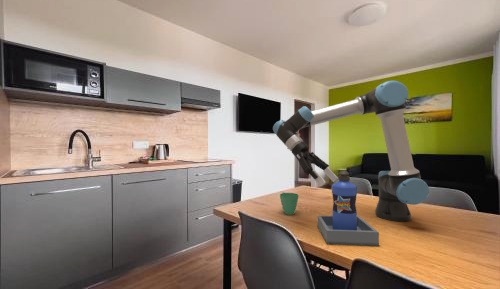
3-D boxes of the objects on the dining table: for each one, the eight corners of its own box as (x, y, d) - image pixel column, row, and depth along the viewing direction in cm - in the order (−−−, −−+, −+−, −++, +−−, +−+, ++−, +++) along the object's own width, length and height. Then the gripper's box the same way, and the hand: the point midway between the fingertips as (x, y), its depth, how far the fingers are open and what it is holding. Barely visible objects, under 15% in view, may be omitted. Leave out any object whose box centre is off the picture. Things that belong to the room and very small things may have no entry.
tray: (359, 227, 97) (359, 216, 97) (379, 246, 79) (378, 232, 79) (317, 226, 99) (317, 215, 99) (327, 244, 81) (326, 230, 81)
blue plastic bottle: (355, 239, 82) (355, 172, 83) (329, 234, 87) (329, 171, 88) (358, 231, 90) (358, 170, 91) (334, 226, 95) (334, 169, 96)
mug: (301, 215, 115) (301, 196, 115) (284, 216, 113) (283, 197, 113) (290, 207, 129) (290, 190, 129) (274, 209, 127) (274, 191, 127)
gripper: (304, 151, 114) (334, 183, 104) (277, 153, 95) (310, 192, 85) (314, 141, 110) (346, 173, 100) (288, 140, 91) (323, 180, 81)
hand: (330, 182), depth 92 cm, fingers open, 13 cm apart
